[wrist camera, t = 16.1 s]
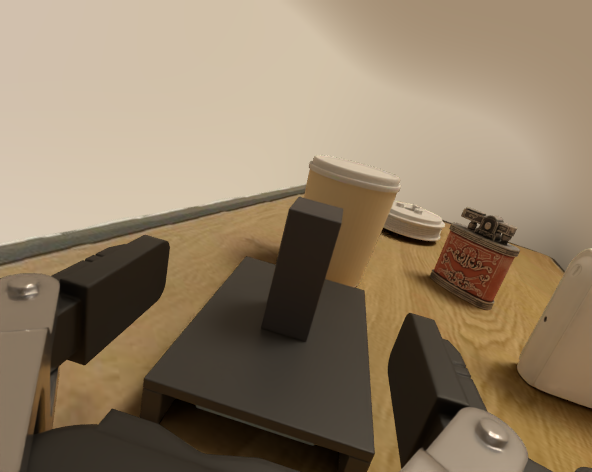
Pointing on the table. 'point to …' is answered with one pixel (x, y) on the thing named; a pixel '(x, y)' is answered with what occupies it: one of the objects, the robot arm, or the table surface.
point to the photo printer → (564, 338)
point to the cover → (280, 347)
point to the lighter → (476, 258)
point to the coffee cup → (352, 210)
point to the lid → (414, 222)
